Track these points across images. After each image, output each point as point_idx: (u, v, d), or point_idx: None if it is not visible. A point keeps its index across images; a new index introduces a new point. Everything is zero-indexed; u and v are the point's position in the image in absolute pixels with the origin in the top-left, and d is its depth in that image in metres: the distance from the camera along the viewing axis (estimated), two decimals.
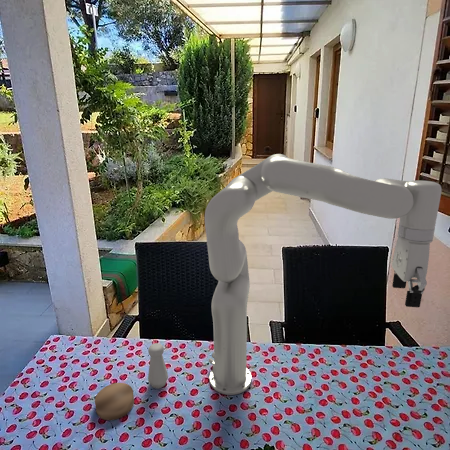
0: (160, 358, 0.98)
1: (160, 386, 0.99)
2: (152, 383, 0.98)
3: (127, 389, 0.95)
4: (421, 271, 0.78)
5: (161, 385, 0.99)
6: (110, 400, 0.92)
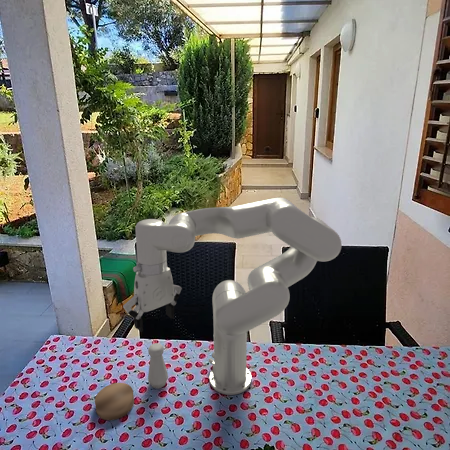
0: (160, 358, 0.98)
1: (160, 386, 0.99)
2: (152, 383, 0.98)
3: (127, 389, 0.95)
4: None
5: (161, 385, 0.99)
6: (110, 400, 0.92)
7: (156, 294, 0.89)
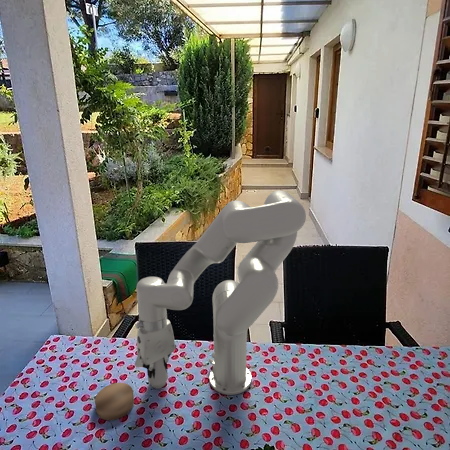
0: None
1: (160, 386, 0.99)
2: (152, 383, 0.98)
3: (127, 389, 0.95)
4: None
5: (161, 385, 0.99)
6: (110, 400, 0.92)
7: (158, 347, 0.94)
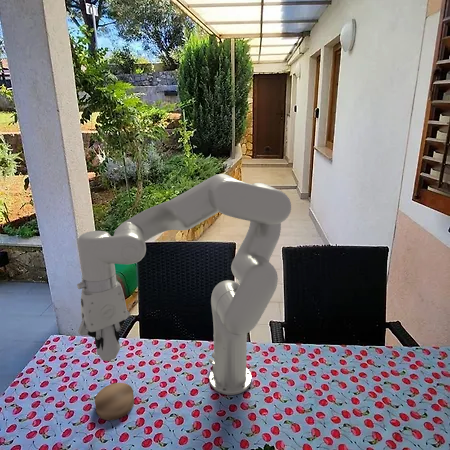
0: (109, 326, 0.85)
1: (110, 358, 0.87)
2: (100, 354, 0.86)
3: (127, 389, 0.95)
4: None
5: (111, 357, 0.87)
6: (110, 400, 0.92)
7: (104, 312, 0.82)
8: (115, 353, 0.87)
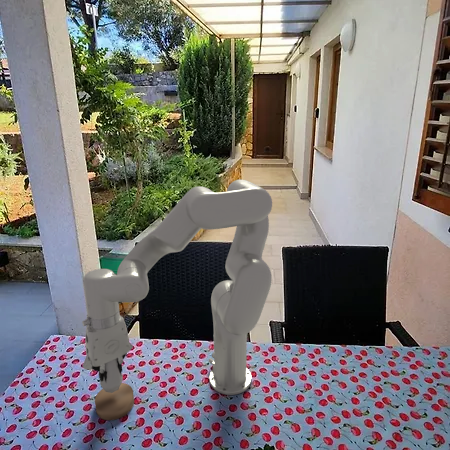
0: None
1: (113, 390, 0.90)
2: (104, 387, 0.89)
3: (127, 389, 0.95)
4: None
5: (114, 389, 0.90)
6: (110, 400, 0.92)
7: (108, 347, 0.85)
8: (118, 385, 0.90)
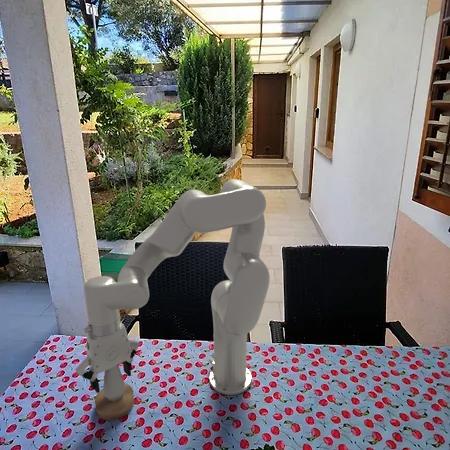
0: (115, 368, 0.89)
1: (115, 399, 0.91)
2: (106, 395, 0.90)
3: (127, 389, 0.95)
4: (128, 340, 0.92)
5: (117, 398, 0.91)
6: None
7: (109, 354, 0.86)
8: (121, 394, 0.91)
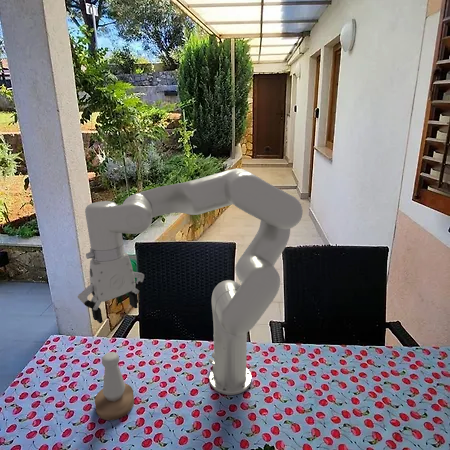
0: (115, 368, 0.89)
1: (115, 399, 0.91)
2: (106, 396, 0.90)
3: (127, 389, 0.95)
4: None
5: (117, 398, 0.91)
6: None
7: (114, 282, 0.83)
8: (121, 394, 0.91)
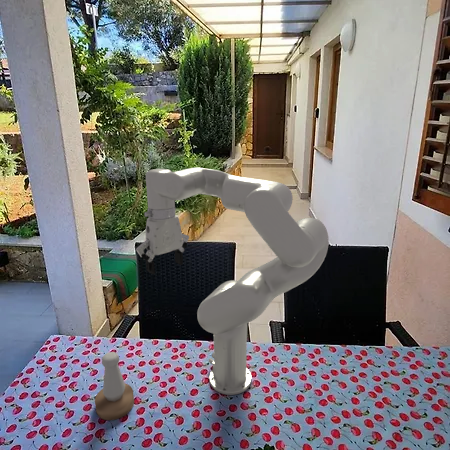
0: (115, 368, 0.89)
1: (115, 399, 0.91)
2: (106, 396, 0.90)
3: (127, 389, 0.95)
4: None
5: (117, 398, 0.91)
6: None
7: (166, 238, 0.97)
8: (120, 394, 0.91)
